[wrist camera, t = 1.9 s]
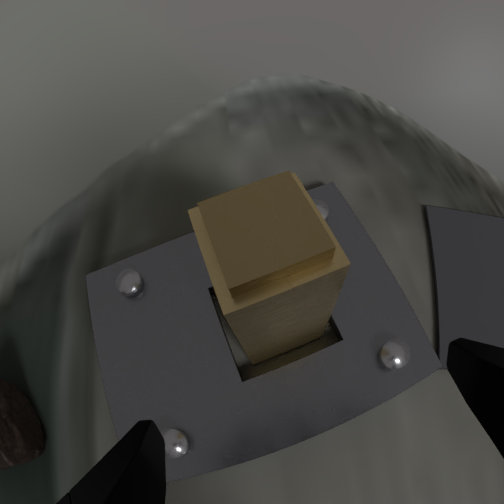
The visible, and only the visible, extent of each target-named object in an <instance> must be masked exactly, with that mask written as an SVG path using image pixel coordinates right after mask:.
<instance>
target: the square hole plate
mask: <svg viewBox="0 0 504 504" xmlns="http://www.w3.org/2000/svg"><path fill="white" fill-rule="evenodd" d="M307 192H308V194H309V195H310V197H311V199H312V200H313V202H314V203H315V205H316V207H317V208H318V210H319V211H320V213H321V215H322V216H323V218H324V219H325V221H326V223H327V224H328V226H329V228H330V229H331V231H332V233H333V234H334V236H335V238H336V239H337V241H338V243H339V244H340V246H341V248H342V249H343V251H344V253H345V255H346V256H347V258H348V260H349V261H350V263H351V265H350V267H349V270H348V273H347V275H346V278H345V281H344V283H343V286H342V288H341V291H340V293H339V296H338V298H337V301H336V303H335V306H334V308H333V311H332V313H331V316H330V318H329V321H330V323H331V325H332V327H333V329H334V331H335V333H336V335H337V337H338V339H339V342H338V343H335V344H333V345H331V346H329V347H327V348H324V349H322V350H320V351H318V352H315V353H313V354H311V355H309V356H306V357H304V358H302V359H299V360H297V361H295V362H292V363H290V364H287V365H285V366H282V367H280V368H277V369H275V370H272V371H270V372H267V373H265V374H262V375H260V376H257V377H254V378H252V379H249V380H246V381H244V382H243V379H242V377H241V374H240V371H239V369H238V366H237V363H236V361H235V358H234V356H233V353H232V350H231V348H230V345H229V342H228V339H227V337H226V334H225V331H224V329H223V326H222V323H221V320H220V318H219V315H218V312H217V309H216V306H215V303H214V301H213V298H212V294H214V293H215V290H214V287H213V284H212V281H211V279H210V276H209V273H208V270H207V267H206V264H205V261H204V258H203V255H202V252H201V250H200V247H199V244H198V241H197V238H196V235H195V232H192V233H189V234H186V235H184V236H181V237H179V238H176V239H174V240H171V241H168V242H166V243H163V244H161V245H158V246H156V247H153V248H151V249H148V250H146V251H143V252H141V253H138V254H136V255H133V256H131V257H128V258H126V259H123V260H121V261H118V262H116V263H114V264H111V265H109V266H106V267H104V268H101V269H99V270H97V271H94V272H92V273H90V274H87V275H86V282H87V291H88V300H89V307H90V314H91V321H92V327H93V334H94V339H95V345H96V350H97V356H98V361H99V366H100V370H101V375H102V380H103V384H104V388H105V392H106V396H107V400H108V404H109V408H110V412H111V416H112V419H113V423H114V426H115V430H116V433H117V436H118V440H119V441H120V440H121V438H122V437H123V436H124V435H125V434H126V433H127V432H128V431H129V430H130V429H131V428H132V427H133V426H134V425H135V424H136V423H137V422H138V421H140V420H149V419H150V420H153V421H154V422H155V424H156V426H157V427H158V429H159V431H160V433H161V434H162V436H163V438H164V441H165V465H166V482H169V481H174V480H179V479H183V478H188V477H192V476H196V475H200V474H204V473H208V472H212V471H216V470H219V469H223V468H226V467H230V466H233V465H237V464H240V463H243V462H246V461H249V460H253V459H256V458H259V457H261V456H264V455H267V454H270V453H273V452H276V451H278V450H281V449H284V448H286V447H289V446H292V445H294V444H297V443H299V442H302V441H304V440H307V439H309V438H311V437H314V436H316V435H318V434H321V433H323V432H325V431H327V430H330V429H332V428H334V427H336V426H338V425H340V424H343V423H345V422H347V421H349V420H351V419H353V418H355V417H357V416H359V415H361V414H363V413H365V412H367V411H369V410H370V409H372V408H374V407H376V406H378V405H380V404H382V403H383V402H385V401H387V400H389V399H391V398H392V397H394V396H396V395H398V394H399V393H401V392H403V391H404V390H406V389H408V388H409V387H411V386H413V385H414V384H416V383H418V382H419V381H421V380H422V379H424V378H426V377H427V376H429V375H430V374H432V373H433V372H435V371H436V370H438V369H439V368H441V367H442V365H441V363H440V361H439V359H438V357H437V355H436V353H435V351H434V349H433V347H432V345H431V343H430V341H429V339H428V337H427V335H426V333H425V331H424V329H423V327H422V325H421V323H420V322H419V320H418V318H417V316H416V314H415V312H414V310H413V309H412V307H411V305H410V303H409V301H408V300H407V298H406V296H405V294H404V292H403V291H402V289H401V287H400V286H399V284H398V282H397V280H396V279H395V277H394V275H393V274H392V272H391V270H390V269H389V267H388V265H387V264H386V262H385V260H384V259H383V257H382V255H381V254H380V252H379V250H378V249H377V247H376V246H375V244H374V242H373V241H372V239H371V238H370V236H369V235H368V233H367V232H366V230H365V228H364V227H363V225H362V224H361V222H360V221H359V219H358V218H357V216H356V215H355V213H354V212H353V210H352V209H351V207H350V206H349V204H348V203H347V201H346V200H345V199H344V197H343V196H342V194H341V193H340V191H339V190H338V188H337V187H336V186H335V184H334V183H333V182H331V183H328V184H325V185H322V186H319V187H316V188H313V189H310V190H307Z"/></svg>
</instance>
